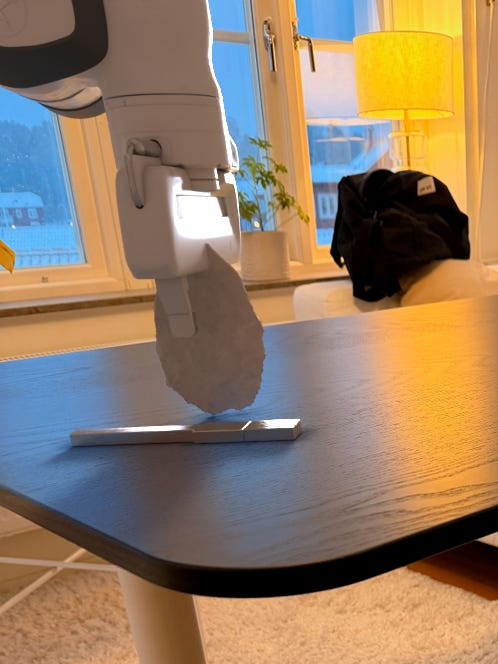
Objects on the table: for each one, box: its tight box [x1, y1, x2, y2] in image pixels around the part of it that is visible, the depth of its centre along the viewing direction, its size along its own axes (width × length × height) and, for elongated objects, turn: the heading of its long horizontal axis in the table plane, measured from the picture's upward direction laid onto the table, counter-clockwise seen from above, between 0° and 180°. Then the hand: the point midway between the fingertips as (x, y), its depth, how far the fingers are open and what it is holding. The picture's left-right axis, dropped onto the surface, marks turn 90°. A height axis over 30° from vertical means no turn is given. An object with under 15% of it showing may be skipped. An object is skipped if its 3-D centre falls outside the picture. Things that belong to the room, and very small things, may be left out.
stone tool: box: [153, 243, 267, 417], centre depth 75 cm, size 9×3×15 cm, turn 105°
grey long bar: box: [69, 418, 302, 447], centre depth 70 cm, size 18×3×1 cm, turn 90°
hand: (202, 329), depth 76 cm, fingers open, 8 cm apart
